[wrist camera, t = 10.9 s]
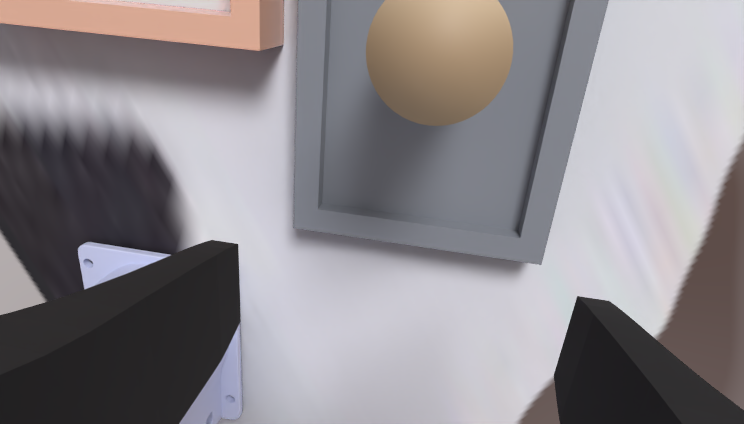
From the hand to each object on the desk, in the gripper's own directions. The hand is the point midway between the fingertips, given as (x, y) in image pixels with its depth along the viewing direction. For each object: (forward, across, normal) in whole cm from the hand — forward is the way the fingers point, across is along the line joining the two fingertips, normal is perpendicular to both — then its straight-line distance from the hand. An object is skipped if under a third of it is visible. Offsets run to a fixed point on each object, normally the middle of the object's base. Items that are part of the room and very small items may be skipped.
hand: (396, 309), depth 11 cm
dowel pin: (+10, 0, -5) cm, 11 cm away
